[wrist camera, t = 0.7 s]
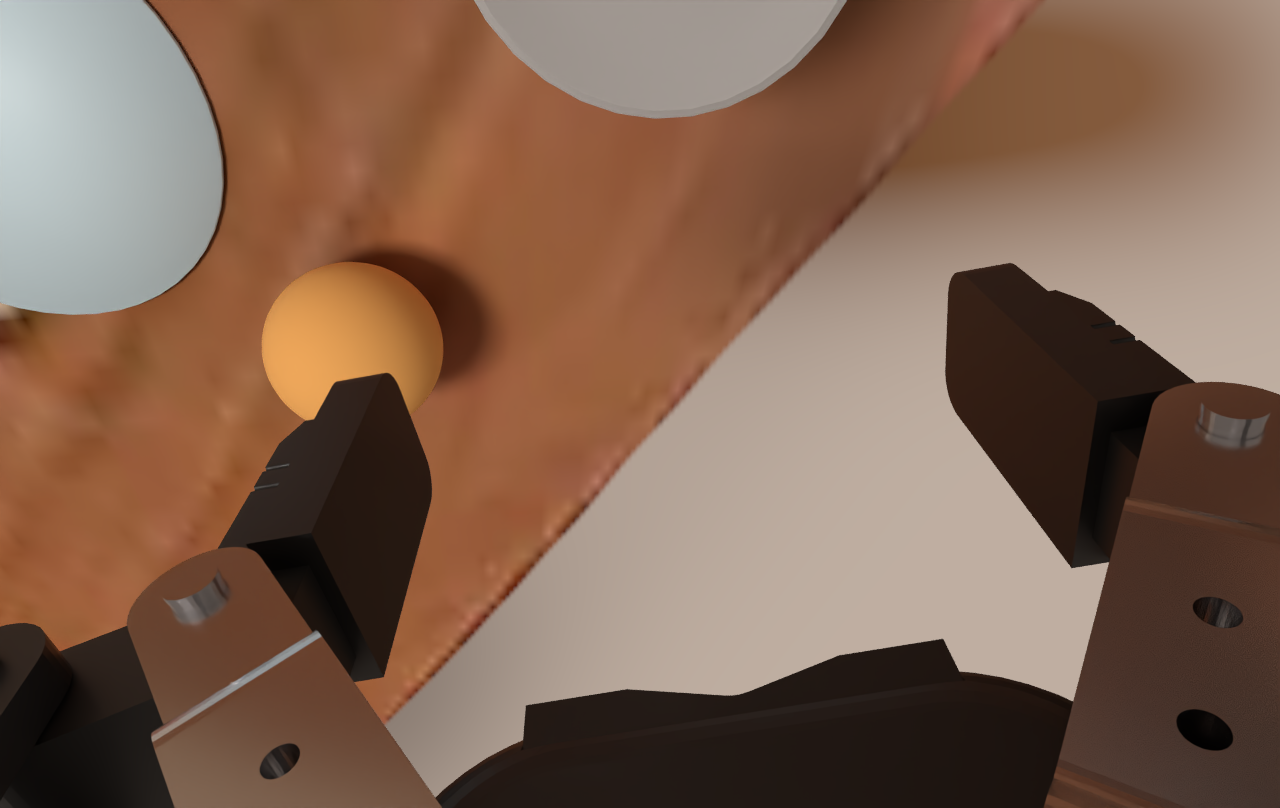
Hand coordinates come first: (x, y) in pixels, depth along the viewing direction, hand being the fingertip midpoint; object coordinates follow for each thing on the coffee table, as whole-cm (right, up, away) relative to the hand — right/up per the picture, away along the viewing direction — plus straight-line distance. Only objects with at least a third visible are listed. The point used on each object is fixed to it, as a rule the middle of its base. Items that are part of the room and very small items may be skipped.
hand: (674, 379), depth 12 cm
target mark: (-21, +9, +15) cm, 27 cm away
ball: (-10, +2, +17) cm, 20 cm away
